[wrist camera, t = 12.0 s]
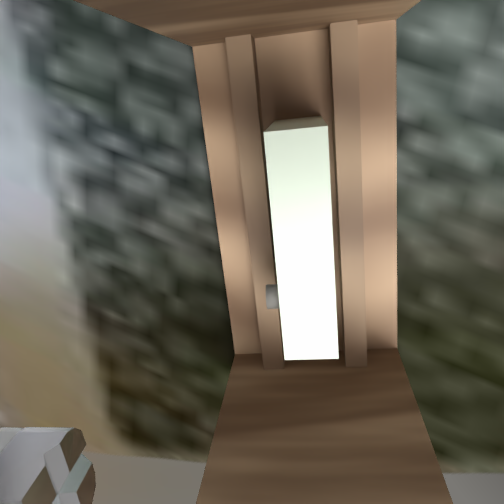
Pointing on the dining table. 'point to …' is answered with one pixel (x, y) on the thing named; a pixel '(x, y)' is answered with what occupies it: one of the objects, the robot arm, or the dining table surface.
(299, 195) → the door panel
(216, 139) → the track frame
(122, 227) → the dining table surface
